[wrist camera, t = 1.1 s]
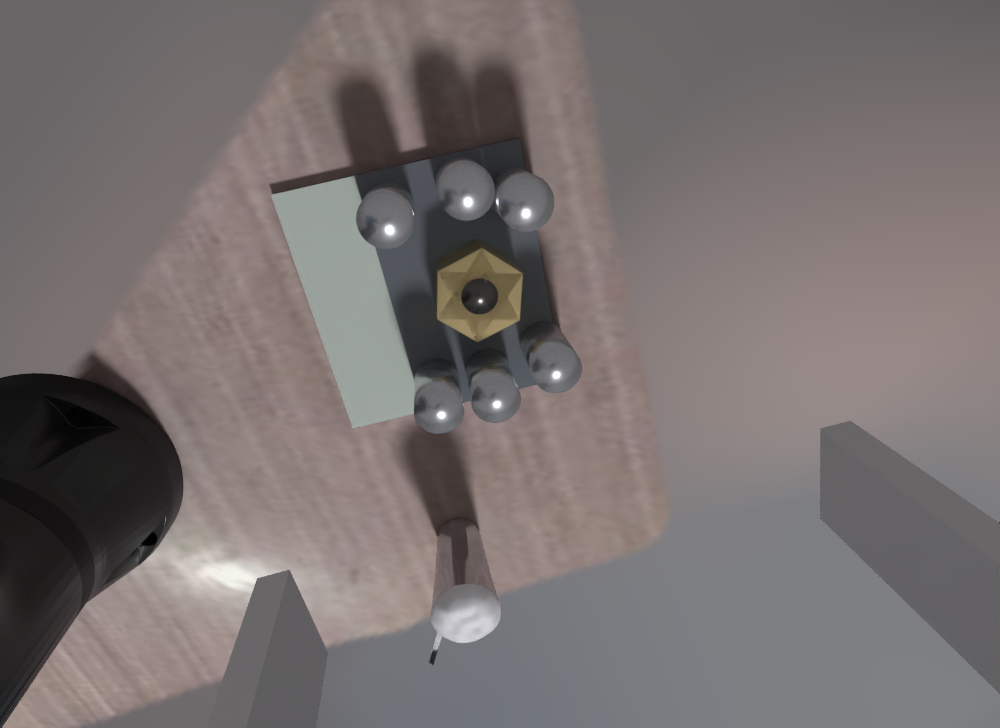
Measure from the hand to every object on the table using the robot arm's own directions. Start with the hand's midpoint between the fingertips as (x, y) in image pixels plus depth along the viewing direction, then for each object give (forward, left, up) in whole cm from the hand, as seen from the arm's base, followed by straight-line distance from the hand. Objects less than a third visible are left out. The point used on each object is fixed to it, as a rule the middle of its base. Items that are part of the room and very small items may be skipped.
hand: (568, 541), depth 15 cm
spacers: (0, 0, -26) cm, 26 cm away
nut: (0, 0, -26) cm, 26 cm away
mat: (-3, 0, -26) cm, 27 cm away
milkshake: (-6, -20, -27) cm, 34 cm away
